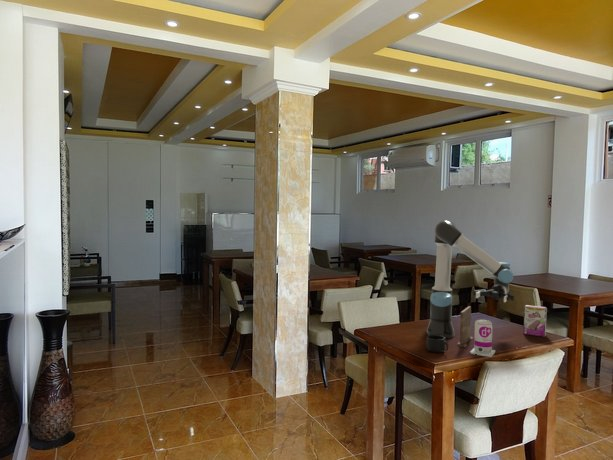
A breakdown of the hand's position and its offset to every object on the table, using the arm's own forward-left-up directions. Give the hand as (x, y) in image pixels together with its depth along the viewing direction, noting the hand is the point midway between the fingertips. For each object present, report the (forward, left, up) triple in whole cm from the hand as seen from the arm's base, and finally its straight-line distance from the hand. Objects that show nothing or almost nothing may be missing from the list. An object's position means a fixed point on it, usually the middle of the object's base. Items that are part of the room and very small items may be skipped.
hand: (490, 297), depth 231 cm
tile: (-1, -12, -26) cm, 28 cm away
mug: (-20, -23, -26) cm, 40 cm away
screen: (-12, +1, -26) cm, 29 cm away
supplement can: (-1, -12, -25) cm, 28 cm away
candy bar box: (+17, +39, -26) cm, 50 cm away
